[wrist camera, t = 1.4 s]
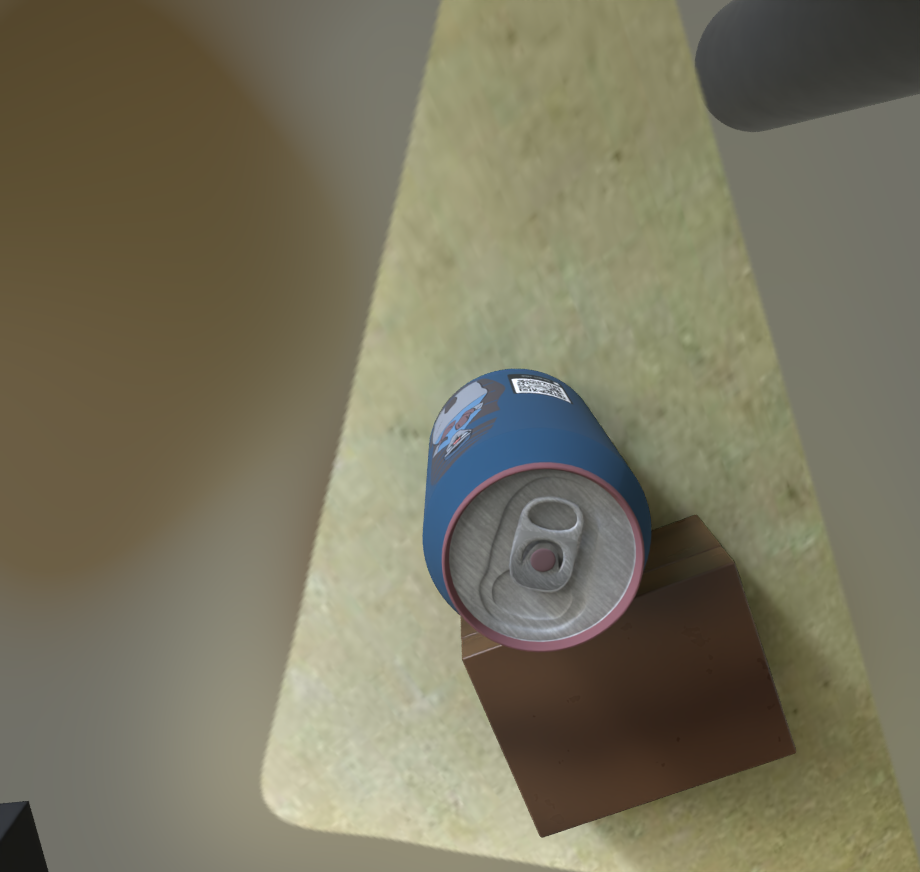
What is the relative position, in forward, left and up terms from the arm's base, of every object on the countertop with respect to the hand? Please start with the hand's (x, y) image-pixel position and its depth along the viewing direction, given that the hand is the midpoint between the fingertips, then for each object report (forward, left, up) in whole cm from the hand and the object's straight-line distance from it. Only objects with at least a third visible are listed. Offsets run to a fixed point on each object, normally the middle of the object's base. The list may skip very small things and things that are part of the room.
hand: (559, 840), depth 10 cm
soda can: (+1, +2, -25) cm, 25 cm away
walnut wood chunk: (+7, +11, -25) cm, 28 cm away
